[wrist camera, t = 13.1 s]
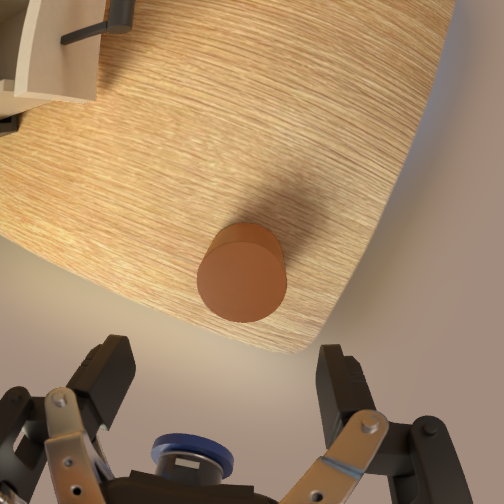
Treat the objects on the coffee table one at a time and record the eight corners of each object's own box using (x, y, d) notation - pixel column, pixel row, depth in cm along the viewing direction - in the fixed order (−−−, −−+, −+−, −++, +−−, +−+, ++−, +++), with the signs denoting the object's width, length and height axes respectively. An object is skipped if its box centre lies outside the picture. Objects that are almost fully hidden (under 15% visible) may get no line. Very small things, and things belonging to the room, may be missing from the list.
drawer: (169, -48, 13) (136, -101, 6) (156, 91, 18) (100, 67, 10) (-1, 21, 14) (-51, 9, 7) (-15, 135, 19) (-74, 144, 11)
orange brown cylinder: (281, 293, 24) (284, 323, 19) (210, 291, 24) (199, 320, 20) (284, 223, 22) (289, 242, 18) (207, 222, 22) (193, 240, 18)
